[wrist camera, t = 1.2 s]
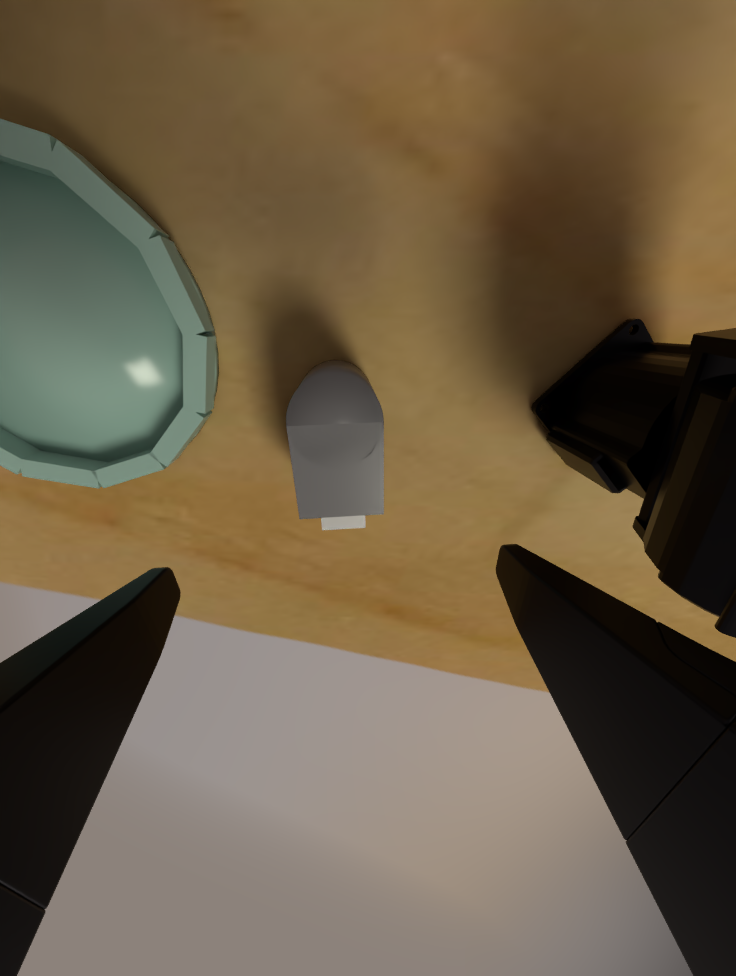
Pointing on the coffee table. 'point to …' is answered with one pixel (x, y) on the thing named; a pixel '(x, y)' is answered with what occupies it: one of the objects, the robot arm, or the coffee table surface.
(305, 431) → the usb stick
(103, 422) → the dish
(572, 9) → the coffee table surface
